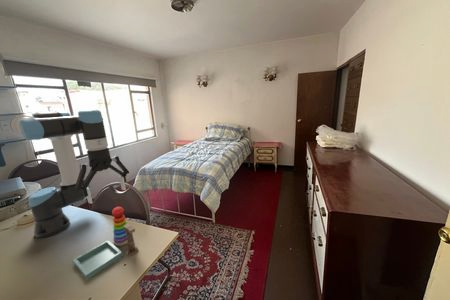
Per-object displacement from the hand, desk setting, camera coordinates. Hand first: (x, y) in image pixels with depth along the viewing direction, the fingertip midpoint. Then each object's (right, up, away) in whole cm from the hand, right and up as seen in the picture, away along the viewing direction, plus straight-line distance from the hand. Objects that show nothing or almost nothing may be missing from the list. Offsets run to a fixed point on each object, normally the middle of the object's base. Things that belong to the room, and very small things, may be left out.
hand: (108, 195), depth 82 cm
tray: (-4, -29, +1) cm, 29 cm away
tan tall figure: (+8, -27, +5) cm, 29 cm away
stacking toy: (0, -26, +12) cm, 29 cm away
